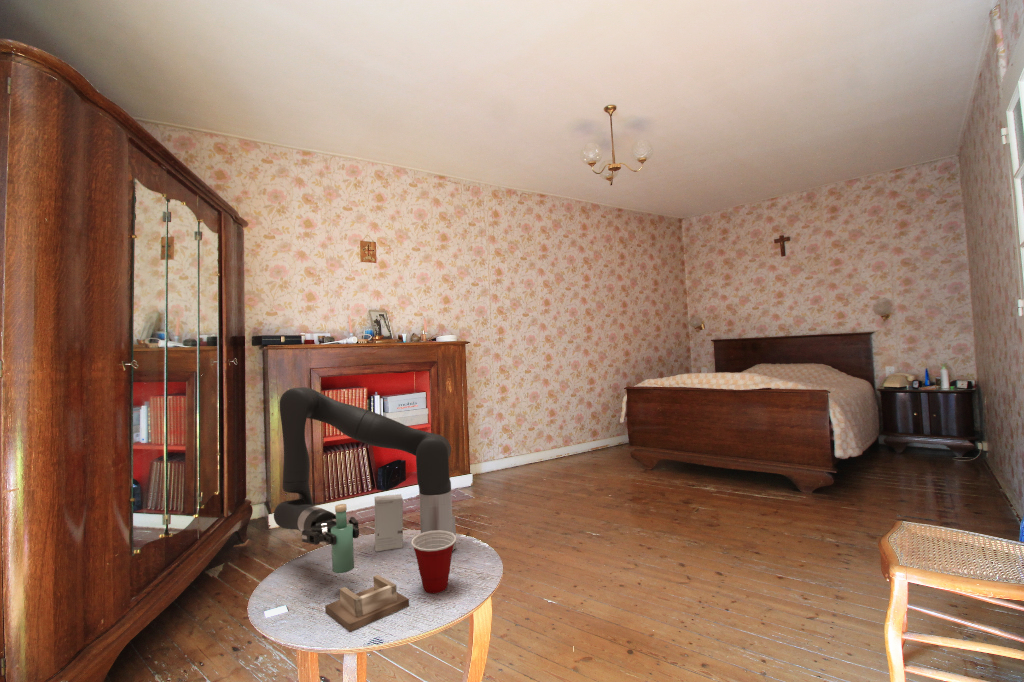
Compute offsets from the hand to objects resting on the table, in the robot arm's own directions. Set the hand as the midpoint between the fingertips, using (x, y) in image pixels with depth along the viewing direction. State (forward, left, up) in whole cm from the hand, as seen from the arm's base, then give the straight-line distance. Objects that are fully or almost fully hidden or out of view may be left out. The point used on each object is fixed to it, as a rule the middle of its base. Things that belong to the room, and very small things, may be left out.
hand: (346, 537), depth 116 cm
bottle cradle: (0, +10, -14) cm, 17 cm away
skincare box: (-23, -20, -14) cm, 33 cm away
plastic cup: (-16, +14, -14) cm, 25 cm away
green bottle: (0, -2, -8) cm, 8 cm away
